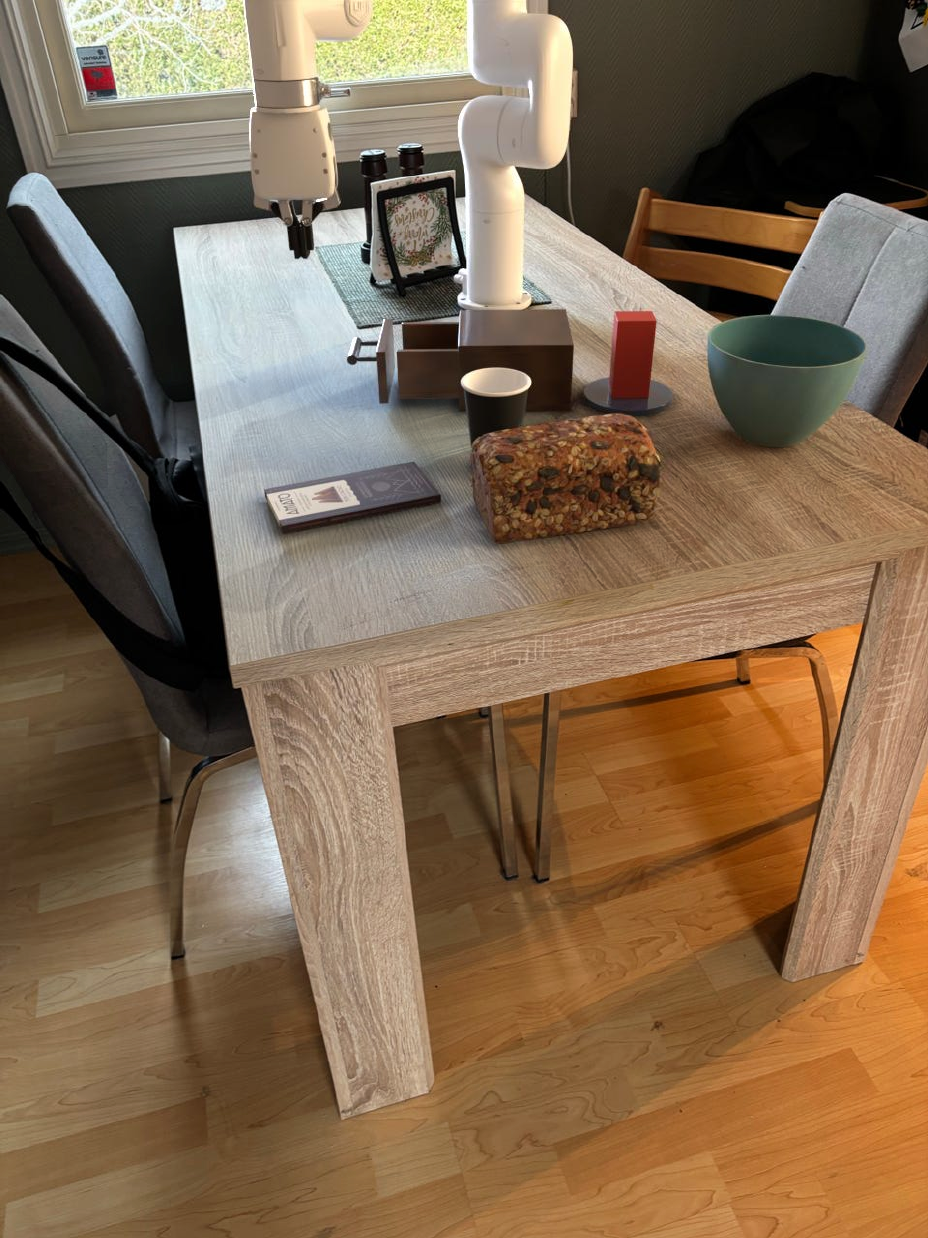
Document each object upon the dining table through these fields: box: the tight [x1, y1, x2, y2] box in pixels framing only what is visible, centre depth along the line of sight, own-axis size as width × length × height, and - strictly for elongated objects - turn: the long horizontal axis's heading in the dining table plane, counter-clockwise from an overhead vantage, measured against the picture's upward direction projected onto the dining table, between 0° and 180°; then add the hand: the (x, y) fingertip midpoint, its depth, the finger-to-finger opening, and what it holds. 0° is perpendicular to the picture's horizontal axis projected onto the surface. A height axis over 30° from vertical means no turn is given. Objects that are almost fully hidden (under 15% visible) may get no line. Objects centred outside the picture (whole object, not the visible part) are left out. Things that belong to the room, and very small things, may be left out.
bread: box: [469, 413, 664, 544], centre depth 104 cm, size 19×11×10 cm, turn 103°
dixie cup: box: [461, 368, 531, 448], centre depth 113 cm, size 8×8×11 cm
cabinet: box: [458, 308, 575, 413], centre depth 133 cm, size 15×14×9 cm
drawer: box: [346, 318, 460, 405], centre depth 134 cm, size 18×13×7 cm
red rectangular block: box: [608, 310, 657, 398], centre depth 130 cm, size 5×4×10 cm
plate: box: [583, 376, 674, 417], centre depth 133 cm, size 12×12×1 cm
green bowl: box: [706, 314, 868, 448], centre depth 120 cm, size 18×18×12 cm
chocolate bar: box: [263, 461, 442, 534], centre depth 110 cm, size 9×1×18 cm
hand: (302, 255), depth 126 cm, fingers closed
